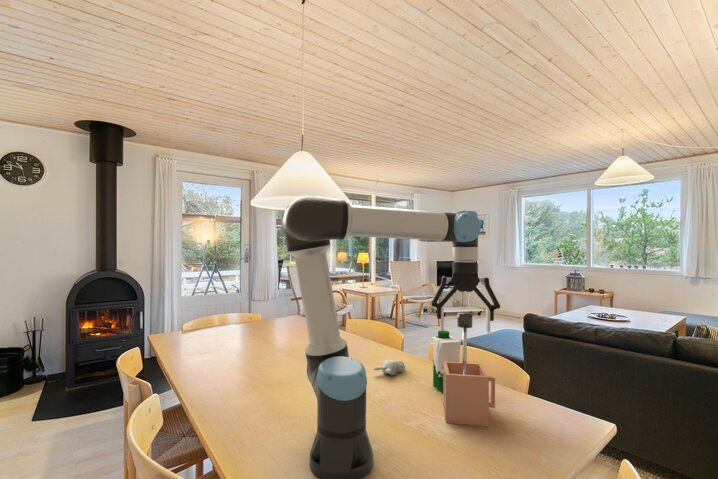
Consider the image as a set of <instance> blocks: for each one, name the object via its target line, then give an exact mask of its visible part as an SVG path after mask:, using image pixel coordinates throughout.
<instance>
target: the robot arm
mask: <svg viewBox="0 0 718 479" xmlns="http://www.w3.org/2000/svg"><path fill="white" fill-rule="evenodd" d="M481 226H482V224H481V221H480V219H479V216H478V212H476V211H475V210H455V211H453V212H443V211H430V210H418V209H404V208H393V207H381V206H370V205H369V206H366V205H357V204H356V205H355V204H351V203H350V202H348V200H345V199H338V198H337V199H336V198H335V199H334V198H329V197H324V196H323V197H322V196H316V195H303V196H300V197H298V198H296V199H295V200H293V201H292V202H291V203H290V204H289V205H288V206H286V208H285V210H284V211H283V213H282V216H281V228H282V231H283V233H284V236H285V241H286V248H287V253H288V254H289V255H291V256H292V257H293V258H294V262H295V266H296V267H295V268H296V272H297V277H298V284H299V290H300V295H301V301H302V306H303V314H304V319H305V324H306V330H307V331H306V332H307V337H308V342H309V343H308V345H307V346H306V347H305V349H304V350H305V351H304V352H305V358H306V375H307V378H308V381H309V383H310V385H311V387H312V389H313V392H314V394H315V397H316V401H317V402H316V404H317V412H316V413H317V414H316V415H317V420H316V421H317V422H316V428H317V429H316V433H315V437H314V440H313V443H312V446H311V449H310V452H309V468H310V470H311V472H312V474H314V475H315V476H316V477H317V478H319V479H362V478H364V477H366V475H368V474H369V473H370V471H371V470H372V468H373V466H374V451H373V447H372V444H371V441H370V438H369V436H368V432H367V385H368V380H367V379H368V377H367V371H366V367H365V366H364V364H363V363H362V362H361V361H360V360H358V359H356V358H354V359H353V358H352V357H350V354H349V350H348V349H349V348H348V343H347V341H346V340H345V339H344V338H342V337H341V333H340V328H339V322H338V321H339V320H338V317H337V316H338V315H337V309H336V304H335V297H334V292H333V285H332V280H331V273H330V268H329V267H330V266H329V260H328V255H327V252H328V250H329V249H330V247H331V240H332V241H333V240H336V241H337V240H340V241H341V240H342V241H345V240H346V239H347V238H348V237H360V238H361V237H362V238H364V237H365V238H380V239H381V238H383V239H399V240H400V239H401V240H403V239H404V240H418V241H419V242H423V243H424V242H427V243H431V242H432V243H437V242H438V243H440V242H441V243H442V242H443V243H451V242H452V261H453V262H452V264H451V266H452V273H451V274H452V275H451V277H450V276H448V277H447V276H445V275H442V277H441V283H440V284H439V287H438V288H437V290H436V292H435V295H434V297H433V299H432V300H431V306H432V307H434V308H436V317H437V319H438V320H440V331H445V329H444V328H445V326H444V325H445V324H444V321H445V320H444V319H445V315H444V314H445V310H444V305H445V304H446V303H447V302H448V301H449V300H450V299H451V297H452V296H453V295H454V294H455V293H456V292H457V291H458V292H461V293H464V292H467V293H471V292H475V294H476V296H478V298H480V299H481V301H482V302H483V303H484V305H486V307H487V308H486V309H485V331H486V333H491V322H494V319H495V310H499V309H501V305H500V303H499V300H498V299H497V297H496V295H495V293H494V291H493V289H492V287H491V285H490V279H489V277H487V276H484V277H479V263H478V262H477V261H478V260H479V236H480V233H481V230H482V227H481ZM449 282H451V284H452V285H453V286H452V287H451V288H450V290H448V292H447V293H446V294H445V295H444V297H442V298H441V300H440V301H439V299H440V297H441V295H442V293H443V291H444V290H445V287H446V285H447V284H449ZM479 283H481V285H483V286H484V287H485V289H486V292H487V294H488V296H489V298H490V300H491V302H492V303H493V304H491V302H489V300H488V299H487V298H486V297H485V295H484V294H483V293H482V292H481V291H480V290H479V288H478V287H477V286H478V285H479ZM438 301H439V302H438Z"/></svg>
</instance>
